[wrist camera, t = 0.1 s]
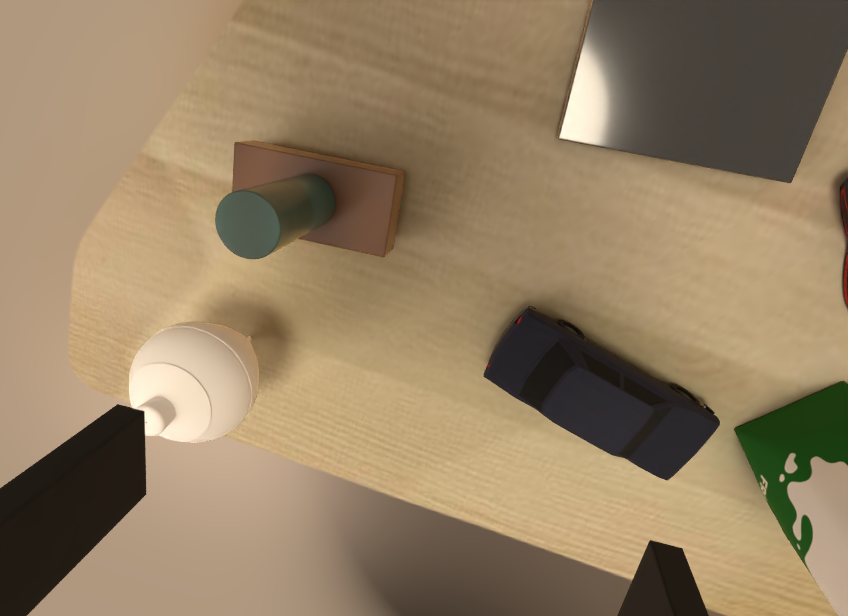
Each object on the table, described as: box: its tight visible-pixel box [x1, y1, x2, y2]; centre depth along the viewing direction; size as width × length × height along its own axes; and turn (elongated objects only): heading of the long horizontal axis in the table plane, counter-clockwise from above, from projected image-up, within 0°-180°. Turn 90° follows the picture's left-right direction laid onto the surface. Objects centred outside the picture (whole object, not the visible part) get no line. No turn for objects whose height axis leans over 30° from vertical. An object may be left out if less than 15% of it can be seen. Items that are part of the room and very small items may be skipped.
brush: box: [215, 141, 405, 259], centre depth 30 cm, size 10×5×12 cm, turn 80°
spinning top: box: [129, 322, 259, 442], centre depth 34 cm, size 8×8×12 cm
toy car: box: [484, 306, 720, 480], centre depth 34 cm, size 6×15×5 cm, turn 62°
